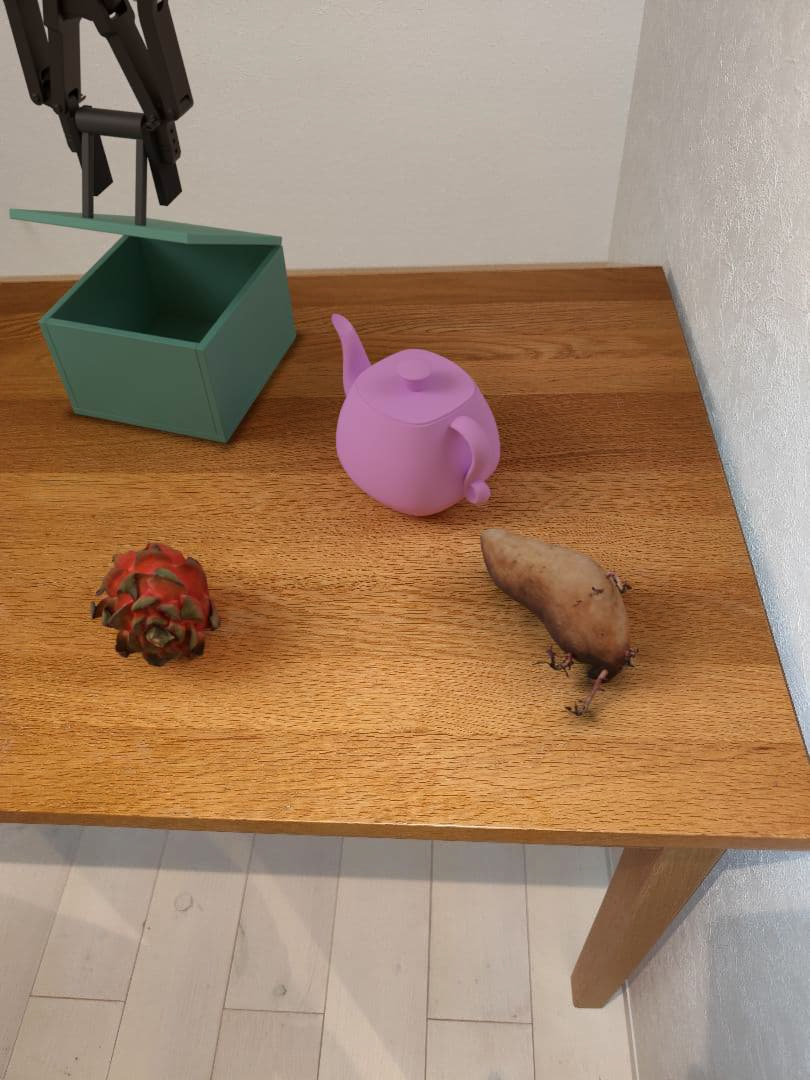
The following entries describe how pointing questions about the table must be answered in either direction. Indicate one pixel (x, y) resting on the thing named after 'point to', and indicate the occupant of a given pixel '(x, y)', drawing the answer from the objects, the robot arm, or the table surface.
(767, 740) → the table surface
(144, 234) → the chest lid
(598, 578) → the vegetable
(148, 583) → the dragon fruit
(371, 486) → the teapot
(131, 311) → the storage chest
